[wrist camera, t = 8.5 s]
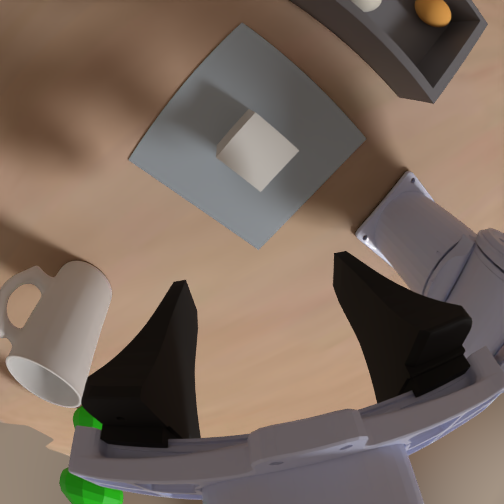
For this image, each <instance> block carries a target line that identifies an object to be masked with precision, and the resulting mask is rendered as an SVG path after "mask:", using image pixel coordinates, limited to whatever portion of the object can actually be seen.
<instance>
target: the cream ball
mask: <svg viewBox="0 0 504 504" xmlns="http://www.w3.org/2000/svg"><path fill="white" fill-rule="evenodd" d="M351 1H352V2H353V3H354V4H355V5H357V6H358V7H359V8H360V9H361V10H362V11H363V12H369V11H372V10H375V9H376V8H377V7H379V5H380V4H381V1H382V0H351Z"/></svg>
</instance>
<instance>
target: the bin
mask: <svg viewBox="0 0 504 504" xmlns="http://www.w3.org/2000/svg"><path fill="white" fill-rule="evenodd" d="M290 1H291V2H293V3H294V4H296V5H297V6H299V7H300V8H302V9H303V10H304V11H306V12H307V13H309V14H310V15H311V16H313V17H314V18H315V19H317V20H318V21H319V22H321V23H322V24H323V25H324V26H326V27H327V28H328V29H329V30H331V31H332V32H333V33H334V34H336V35H337V36H338V37H339V38H340V39H341V40H343V41H344V42H345V43H346V44H347V45H348V46H349V47H351V48H352V49H353V50H354V51H355V52H356V53H357V54H358V55H359V56H360V57H361V58H362V59H363V60H365V61H366V62H367V63H368V64H369V65H370V66H371V67H372V68H373V69H374V70H375V71H376V72H377V73H378V75H379V76H380V77H381V78H382V79H383V80H384V81H385V82H386V83H387V84H388V85H389V86H390V87H391V88H392V90H393V91H394V92H395V93H396V94H397V95H398V96H399V98H406V99H412V100H417V101H423V102H428V103H433V104H434V103H435V101H436V100H437V99H438V97H439V96H440V95H441V93H442V92H443V90H444V89H445V88H446V86H447V85H448V83H449V82H450V81H451V79H452V78H453V76H454V75H455V73H456V72H457V71H458V69H459V68H460V66H461V65H462V63H463V62H464V60H465V59H466V57H467V56H468V54H469V53H470V51H471V50H472V48H473V47H474V45H475V44H476V42H477V41H478V39H479V37H480V36H481V34H482V33H483V31H484V30H485V28H486V26H487V25H488V24H487V22H486V21H485V19H484V18H483V16H482V15H481V13H480V12H479V10H478V9H477V7H476V6H475V5H474V3H473V2H472V0H443V1H444V2H445V3H446V4H447V5H448V7H449V9H450V11H451V20H450V22H449V24H448V25H446V26H444V27H433V26H430V25H428V24H426V23H425V22H423V21H422V20H421V19H420V18H419V16H418V15H417V13H416V11H415V1H416V0H382V1H381V4H380V5H379V7H377V8H376V9H375V10H372V11H369V12H363V11H362V10H361V9H360V8H359V7H358V6H357V5H355V4H354V3H353V2H352V1H351V0H290Z"/></svg>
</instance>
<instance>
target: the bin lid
mask: <svg viewBox="0 0 504 504" xmlns="http://www.w3.org/2000/svg"><path fill="white" fill-rule="evenodd" d="M365 140H366V138H365V136H364V135H363V134H362V133H361V132H360V131H359V129H358V128H357V127H356V126H355V125H354V124H353V123H352V121H351V120H350V119H349V118H348V117H347V116H346V115H345V114H344V113H343V111H342V110H341V109H340V108H339V107H338V106H337V105H336V104H335V103H334V102H333V101H332V100H331V99H330V98H329V97H328V96H327V95H326V94H325V93H324V92H323V91H322V90H321V89H320V88H319V87H318V86H317V85H316V84H315V83H314V82H313V81H312V80H311V79H310V78H309V77H308V76H307V75H306V74H305V73H304V72H302V71H301V70H300V69H299V68H298V67H297V66H296V65H295V64H294V63H292V62H291V61H290V60H289V59H288V58H287V57H286V56H284V55H283V54H282V53H281V52H280V51H278V50H277V49H276V48H275V47H274V46H272V45H271V44H270V43H269V42H267V41H266V40H265V39H263V38H262V37H261V36H260V35H258V34H257V33H256V32H254V31H253V30H252V29H250V28H249V27H248V26H246V25H245V24H243V23H241V24H240V25H239V26H238V27H237V28H235V29H234V30H233V31H232V32H231V33H230V34H229V35H228V36H227V37H226V38H225V39H224V40H223V41H222V42H221V43H220V44H219V45H218V46H217V47H216V48H215V49H214V50H213V51H212V52H211V54H210V55H209V56H208V57H207V58H206V59H205V60H204V61H203V62H202V63H201V64H200V65H199V67H198V68H197V69H196V70H195V71H194V72H193V73H192V75H191V76H190V77H189V78H188V79H187V80H186V82H185V83H184V84H183V85H182V86H181V88H180V89H179V90H178V91H177V93H176V94H175V95H174V96H173V98H172V99H171V100H170V101H169V103H168V104H167V105H166V107H165V108H164V109H163V110H162V112H161V113H160V114H159V116H158V117H157V119H156V120H155V121H154V123H153V124H152V125H151V127H150V128H149V130H148V131H147V133H146V134H145V135H144V137H143V138H142V140H141V141H140V143H139V144H138V146H137V147H136V149H135V150H134V152H133V153H132V155H131V157H130V158H129V161H131V162H132V163H134V164H135V165H136V166H138V167H139V168H141V169H142V170H144V171H145V172H147V173H148V174H150V175H151V176H152V177H154V178H155V179H157V180H158V181H160V182H161V183H163V184H164V185H166V186H167V187H169V188H170V189H171V190H173V191H174V192H176V193H177V194H179V195H180V196H182V197H183V198H184V199H186V200H187V201H189V202H190V203H192V204H193V205H195V206H196V207H198V208H199V209H200V210H202V211H203V212H205V213H206V214H208V215H209V216H211V217H212V218H213V219H215V220H216V221H218V222H219V223H221V224H222V225H224V226H225V227H226V228H228V229H229V230H231V231H232V232H234V233H235V234H237V235H238V236H239V237H241V238H242V239H244V240H245V241H247V242H248V243H249V244H251V245H252V246H254V247H255V248H257V249H258V250H259V249H260V248H261V247H262V246H263V245H264V244H265V243H266V242H267V241H268V240H269V239H270V238H271V237H272V236H273V235H274V234H275V233H276V232H277V231H278V230H279V229H280V228H281V226H282V225H283V224H284V223H285V222H286V221H287V220H288V219H289V218H290V217H291V216H292V215H293V214H294V213H295V212H296V211H297V210H298V209H299V208H300V207H301V206H302V205H303V204H304V203H305V202H306V201H307V200H308V199H309V198H310V197H311V196H312V195H313V194H314V193H315V192H316V191H317V190H318V189H319V187H320V186H321V185H322V184H323V183H324V182H325V181H326V180H327V179H328V178H329V177H330V176H331V175H332V174H333V173H334V172H335V171H336V170H337V169H338V168H339V167H340V166H341V165H342V164H343V163H344V162H345V161H346V160H347V159H348V158H349V157H350V156H351V155H352V153H353V152H354V151H355V150H356V149H357V148H358V147H359V146H360V145H361V144H362V143H363V142H364V141H365Z"/></svg>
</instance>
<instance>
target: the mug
mask: <svg viewBox="0 0 504 504" xmlns="http://www.w3.org/2000/svg"><path fill="white" fill-rule="evenodd" d="M24 284H33V285H35V286H36V287H37V288H38V289H39V290H40V291H41V294H42V295H41V298H40V300H39V302H38V304H37V305H36V307H35V308H34V310H33V312H32V313H31V315H30V317H29V318H28V320H27V322H26V323H25V325H24V327H23V328H21V329H20V328H17V327H15V326H14V325H13V324H12V323H11V322H10V320H9V318H8V316H7V303H8V299H9V297H10V295H11V294H12V292H13V291H14V290H15V289H17V288H18V287H19V286H21V285H24ZM111 298H112V289H111V286H110V283H109V281H108V280H107V278H106V277H105V275H104V274H103V273H102V272H101V271H100V270H99V269H97V268H96V267H94V266H93V265H91V264H89V263H86V262H83V261H71V262H68V263H66V264H65V265H63V266H62V268H61V269H60V270H59V272H58V273H57V275H56V276H55V277H51V276H49V275H47V274H46V273H45V272H44V271H43V270H42V269H41V268H40V267H39V266H33V267H31V268H29V269H27V270H24V271H22V272H20V273H18V274H16V275H14V276H12V277H11V278H10V279H9V280H7V281H6V282H5V283H4V285H3V286H2V287H1V289H0V337H1V338H7V339H8V340H10V342H11V344H12V349H11V351H10V353H9V355H8V357H7V358H6V366H7V368H8V370H9V372H10V373H11V374H12V376H13V377H14V378H15V379H16V380H17V381H18V382H19V383H20V384H21V385H22V386H23V387H25V388H26V389H27V390H28V391H30V392H31V393H33V394H34V395H36V396H38V397H39V398H41V399H43V400H45V401H48V402H50V403H52V404H55V405H58V406H62V407H68V408H75V407H79V406H80V405H81V399H82V395H83V391H84V388H85V384H86V380H87V377H88V374H89V371H90V367H91V363H92V359H93V356H94V352H95V349H96V345H97V342H98V339H99V335H100V332H101V329H102V326H103V323H104V320H105V317H106V314H107V311H108V308H109V305H110V302H111Z"/></svg>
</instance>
